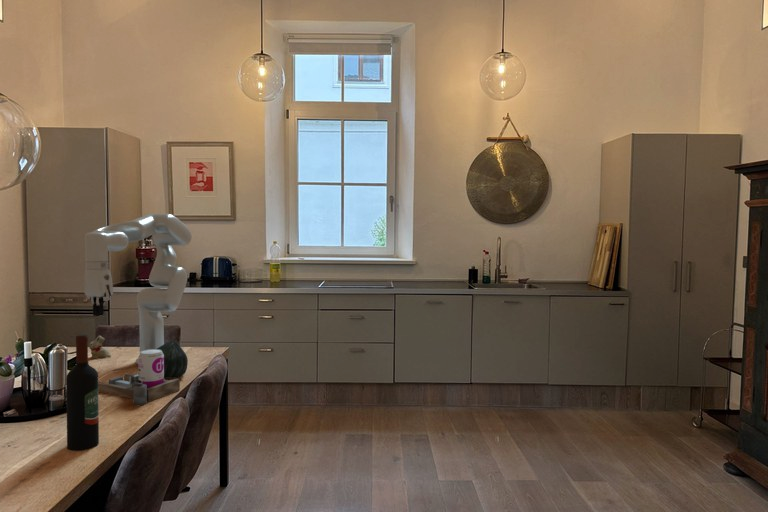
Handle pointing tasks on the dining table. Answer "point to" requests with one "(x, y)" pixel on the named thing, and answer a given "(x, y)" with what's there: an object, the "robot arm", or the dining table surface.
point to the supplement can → (151, 367)
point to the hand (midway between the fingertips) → (98, 315)
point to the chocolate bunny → (98, 348)
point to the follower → (120, 381)
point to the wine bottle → (82, 401)
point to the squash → (174, 360)
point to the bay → (140, 389)
